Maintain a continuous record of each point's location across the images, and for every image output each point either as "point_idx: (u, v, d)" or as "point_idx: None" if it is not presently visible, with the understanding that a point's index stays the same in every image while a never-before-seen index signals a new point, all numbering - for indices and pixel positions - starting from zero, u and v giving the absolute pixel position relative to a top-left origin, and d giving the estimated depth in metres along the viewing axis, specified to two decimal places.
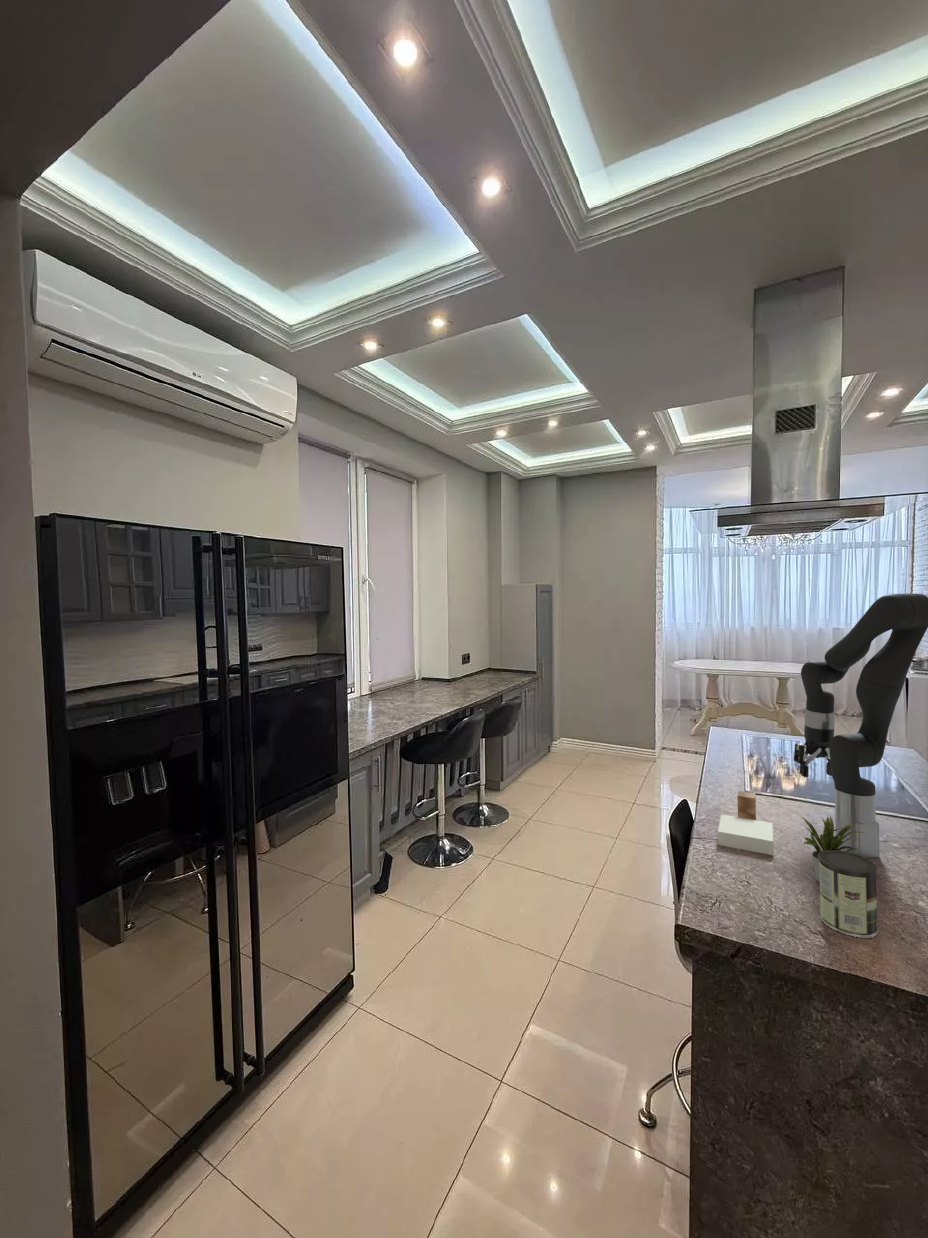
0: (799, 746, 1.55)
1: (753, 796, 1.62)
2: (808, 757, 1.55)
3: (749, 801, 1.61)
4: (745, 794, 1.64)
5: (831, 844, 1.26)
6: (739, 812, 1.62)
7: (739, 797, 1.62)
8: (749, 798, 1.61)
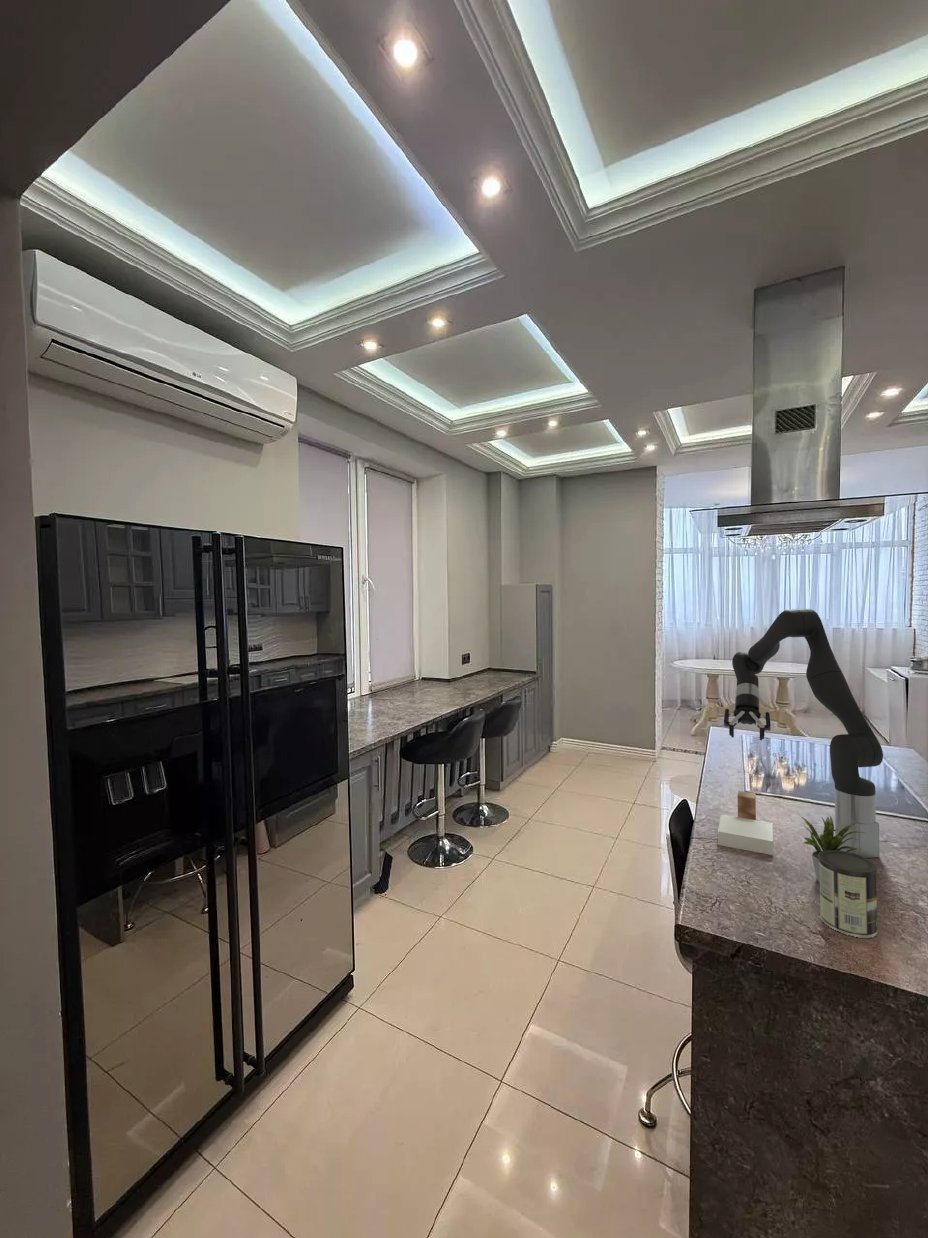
0: None
1: (753, 796, 1.62)
2: None
3: (749, 801, 1.61)
4: (745, 794, 1.64)
5: (831, 844, 1.26)
6: (739, 812, 1.62)
7: (739, 797, 1.62)
8: (749, 798, 1.61)
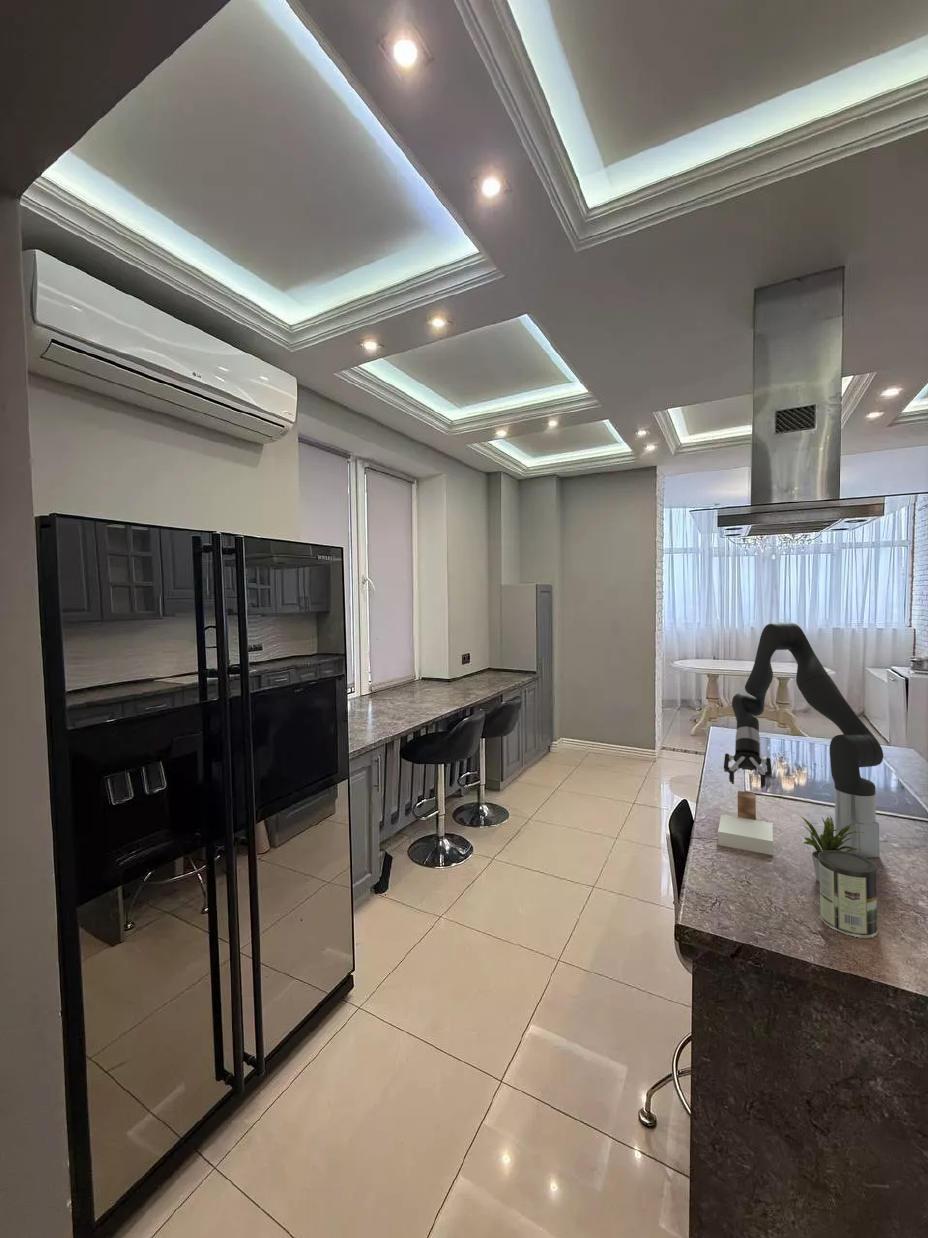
0: (725, 755, 1.78)
1: (753, 796, 1.62)
2: None
3: (749, 801, 1.61)
4: (745, 794, 1.64)
5: (831, 844, 1.26)
6: (739, 812, 1.62)
7: (739, 797, 1.62)
8: (749, 798, 1.61)
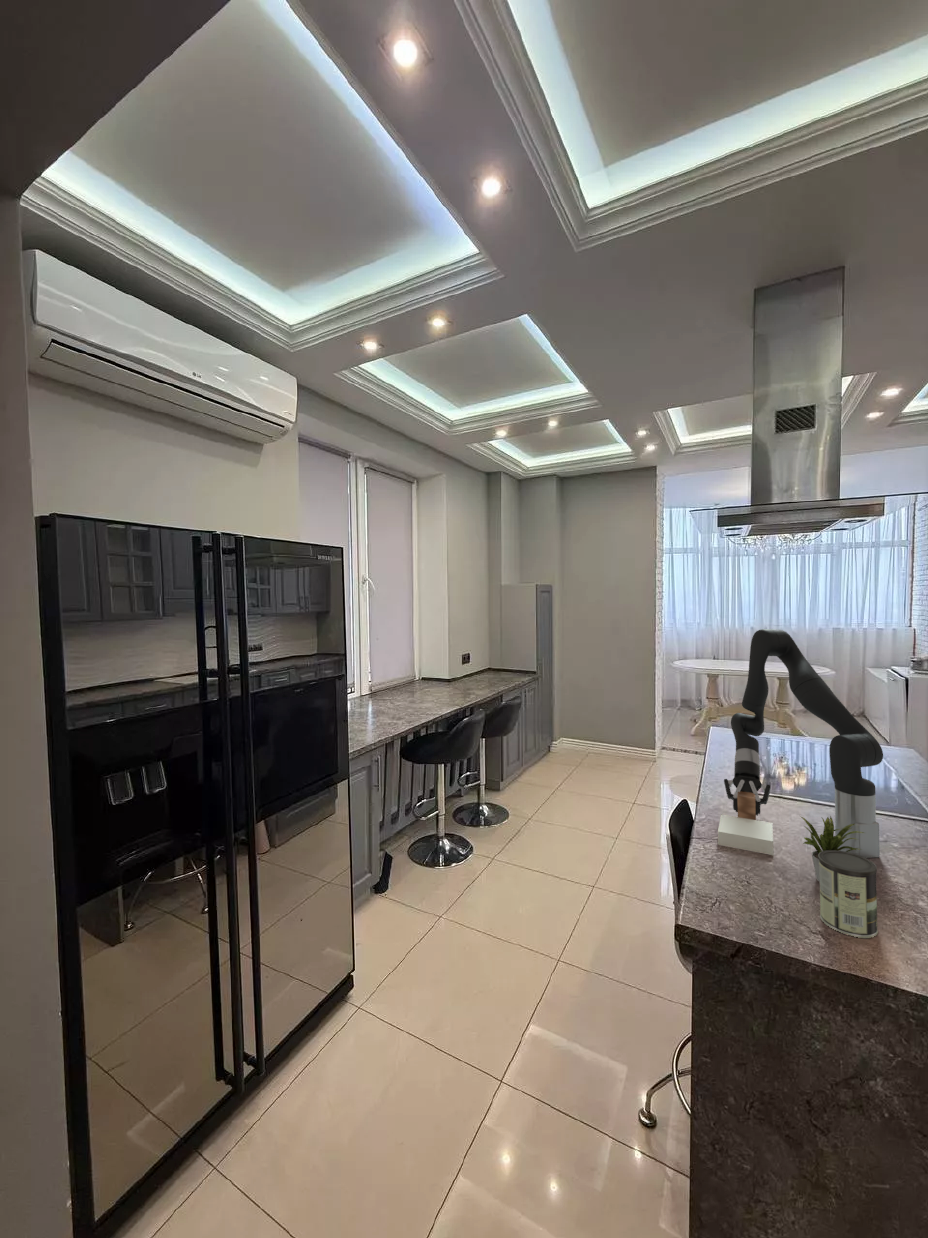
0: (724, 781, 1.71)
1: (753, 796, 1.62)
2: None
3: (748, 801, 1.61)
4: (744, 793, 1.64)
5: (831, 844, 1.26)
6: (739, 812, 1.62)
7: (739, 797, 1.62)
8: (748, 798, 1.61)
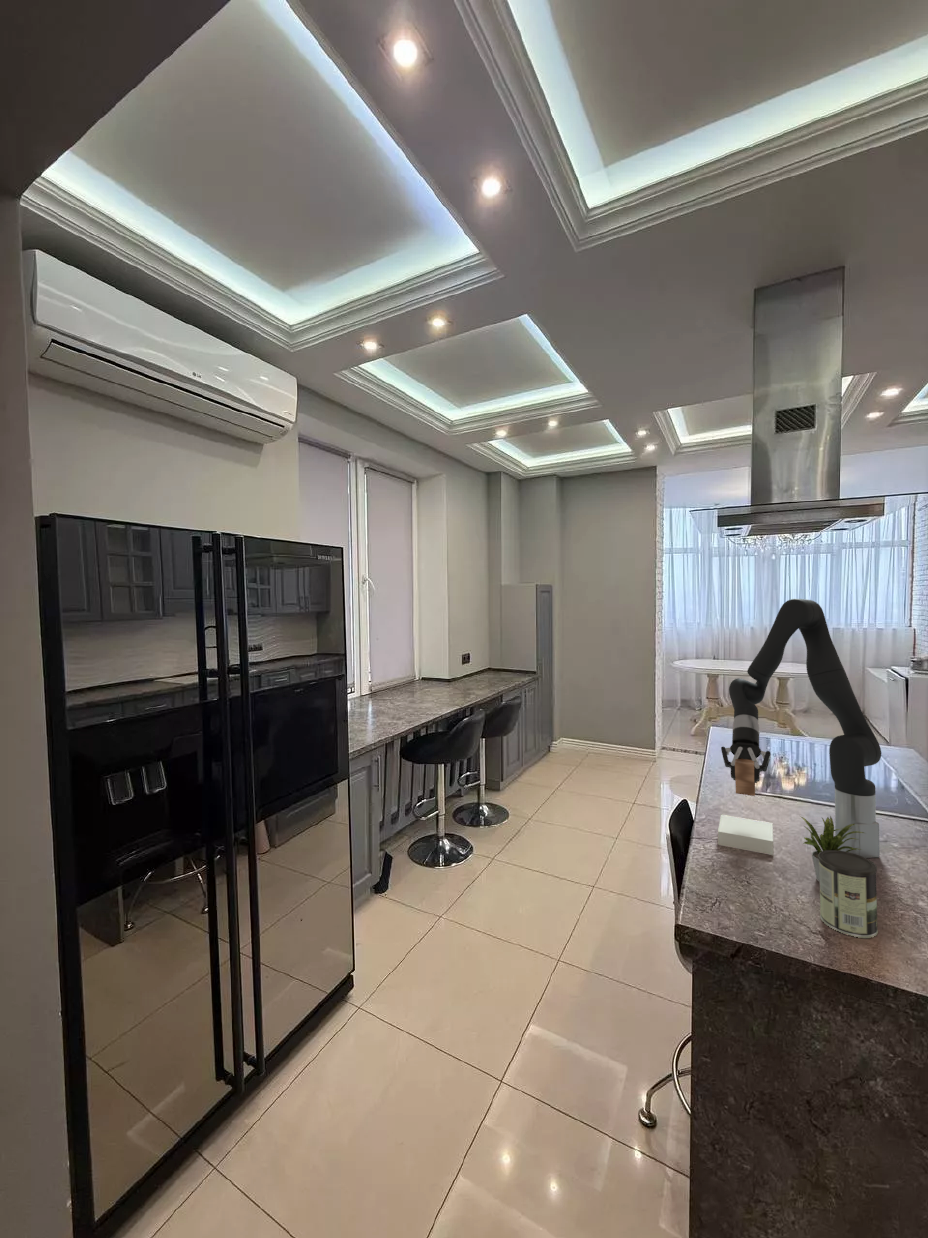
0: (721, 749, 1.61)
1: (751, 762, 1.52)
2: None
3: (747, 768, 1.51)
4: (743, 760, 1.54)
5: (831, 844, 1.26)
6: (737, 780, 1.53)
7: (737, 764, 1.53)
8: (747, 765, 1.51)
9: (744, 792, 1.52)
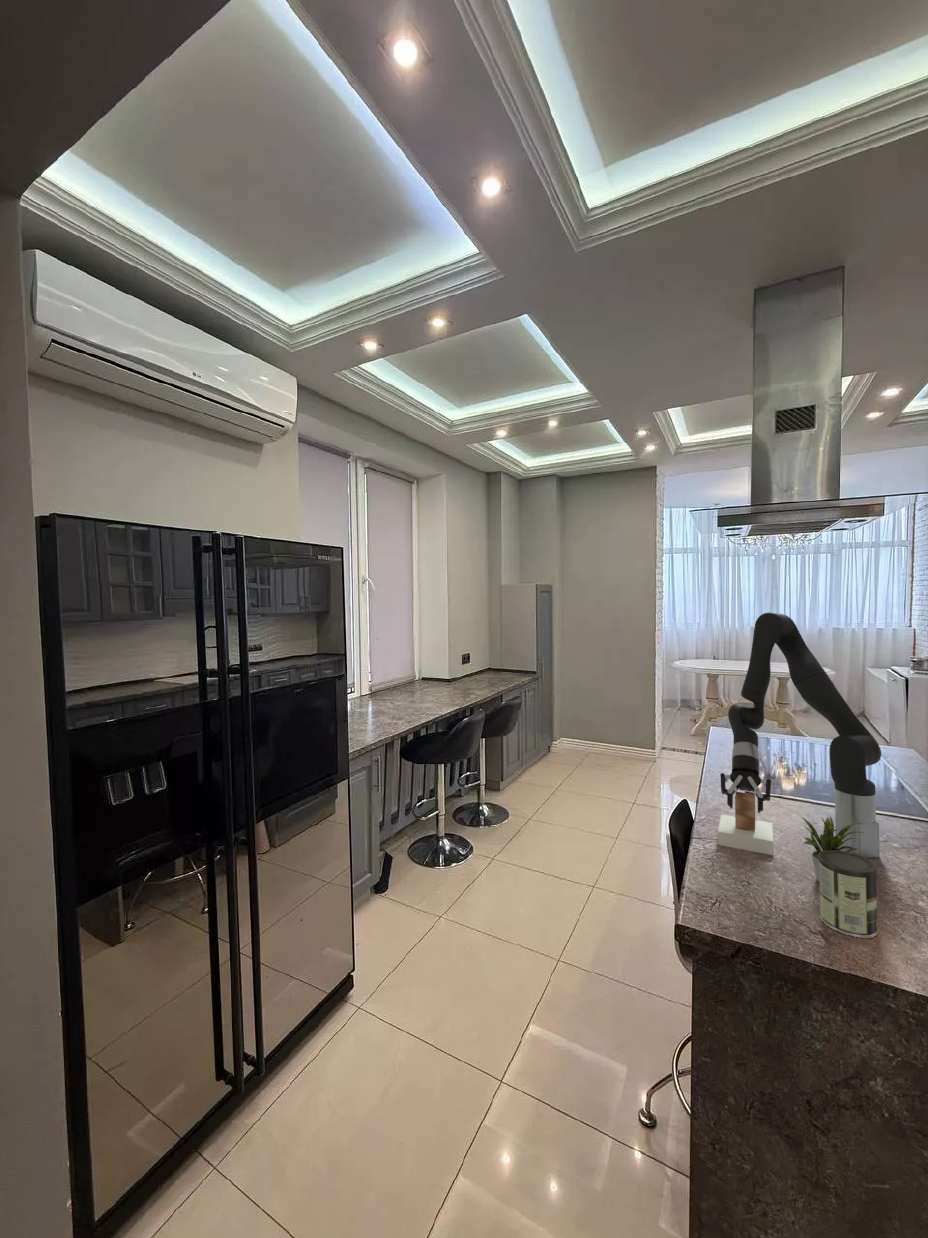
0: None
1: (752, 797, 1.50)
2: None
3: (747, 803, 1.49)
4: (743, 795, 1.52)
5: (831, 844, 1.26)
6: (737, 814, 1.51)
7: (737, 798, 1.51)
8: (747, 800, 1.49)
9: (744, 827, 1.50)
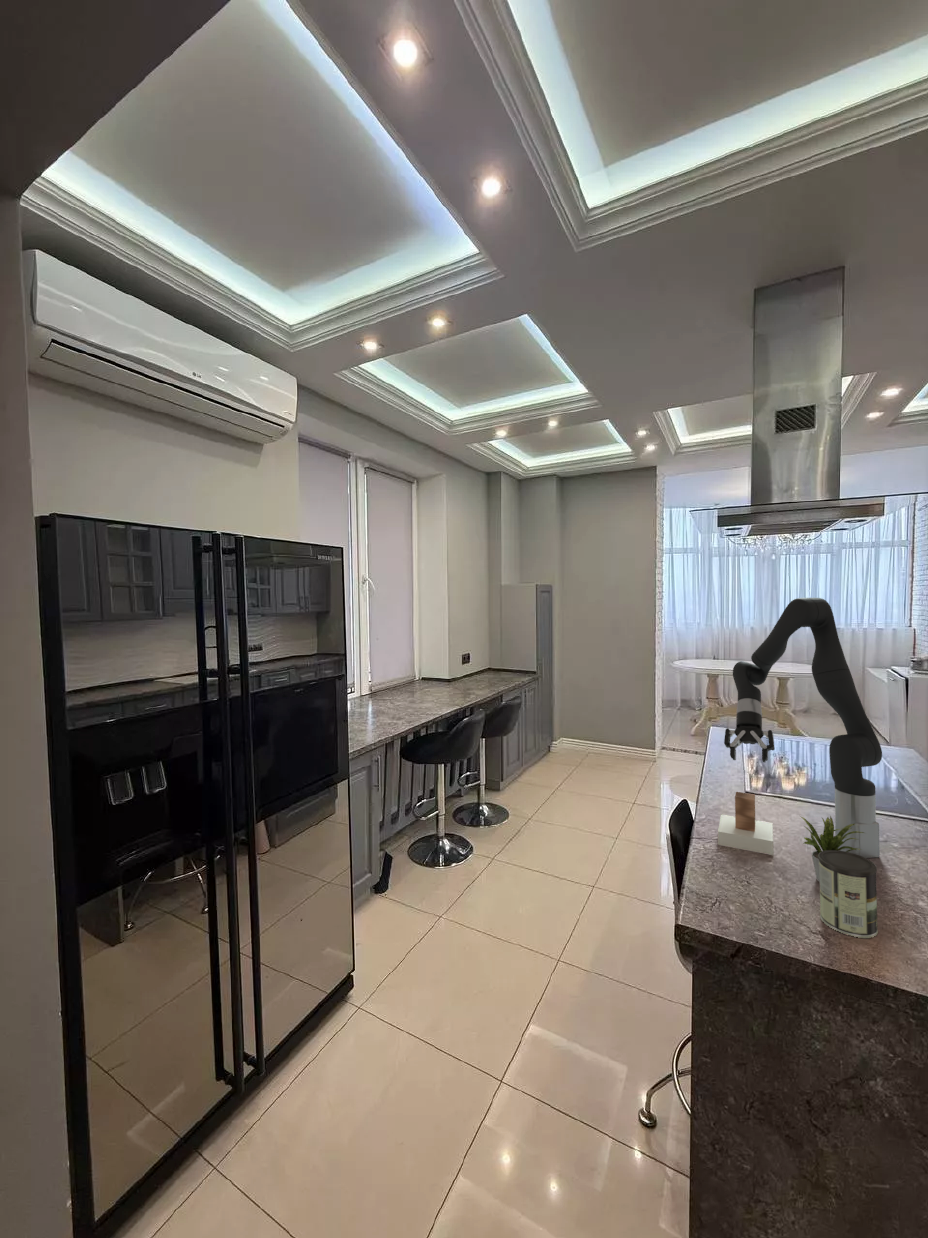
0: None
1: (752, 797, 1.50)
2: None
3: (747, 803, 1.49)
4: (743, 795, 1.52)
5: (831, 844, 1.26)
6: (737, 814, 1.51)
7: (737, 798, 1.51)
8: (747, 800, 1.49)
9: (744, 827, 1.50)
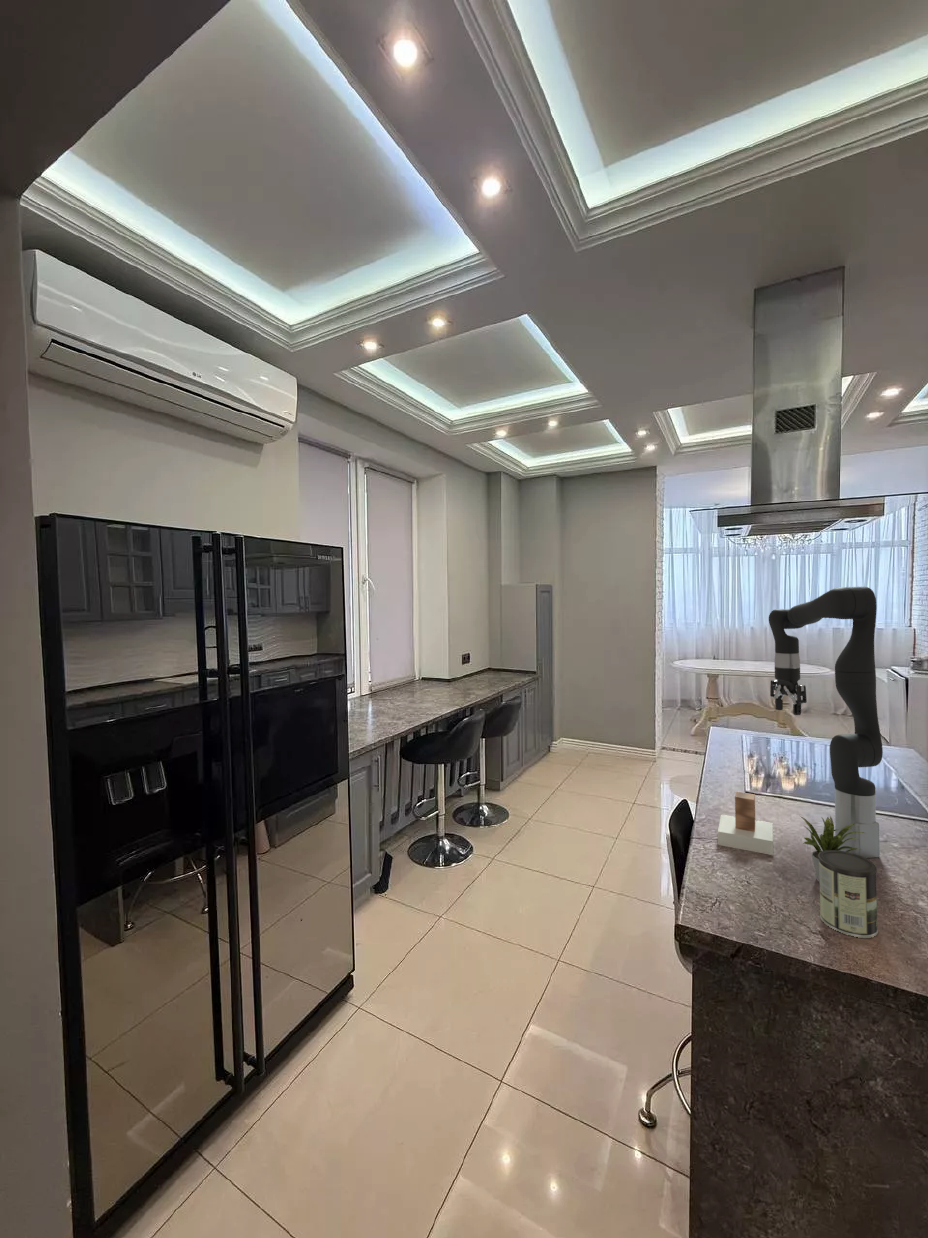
0: None
1: (752, 797, 1.50)
2: None
3: (747, 803, 1.49)
4: (743, 795, 1.52)
5: (831, 844, 1.26)
6: (737, 814, 1.51)
7: (737, 798, 1.51)
8: (747, 800, 1.49)
9: (744, 827, 1.50)
